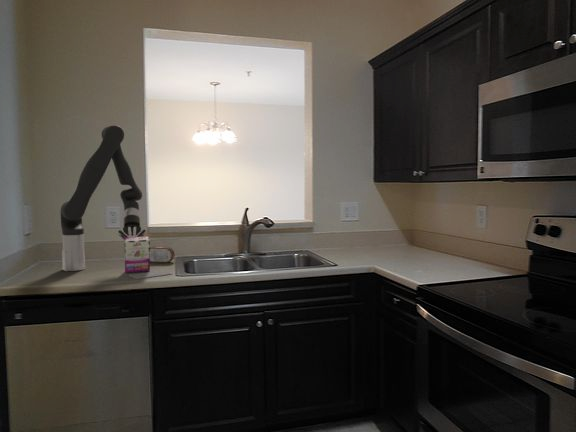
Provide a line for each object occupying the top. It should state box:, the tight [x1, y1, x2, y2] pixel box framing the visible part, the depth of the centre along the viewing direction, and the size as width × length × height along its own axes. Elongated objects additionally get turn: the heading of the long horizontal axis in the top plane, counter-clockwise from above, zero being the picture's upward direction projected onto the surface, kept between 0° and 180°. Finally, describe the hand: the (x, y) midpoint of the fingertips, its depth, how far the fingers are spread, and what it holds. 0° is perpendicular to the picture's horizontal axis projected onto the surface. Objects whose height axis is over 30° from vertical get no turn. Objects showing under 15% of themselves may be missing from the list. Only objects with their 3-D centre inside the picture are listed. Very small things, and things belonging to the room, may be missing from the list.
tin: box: [150, 245, 175, 264], centre depth 222 cm, size 15×3×8 cm, turn 84°
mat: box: [127, 269, 173, 280], centre depth 191 cm, size 17×9×1 cm, turn 130°
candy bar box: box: [123, 235, 151, 274], centre depth 196 cm, size 11×5×16 cm, turn 114°
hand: (132, 246), depth 197 cm, fingers closed
